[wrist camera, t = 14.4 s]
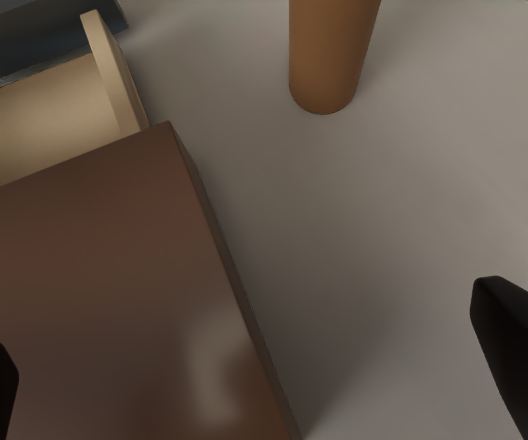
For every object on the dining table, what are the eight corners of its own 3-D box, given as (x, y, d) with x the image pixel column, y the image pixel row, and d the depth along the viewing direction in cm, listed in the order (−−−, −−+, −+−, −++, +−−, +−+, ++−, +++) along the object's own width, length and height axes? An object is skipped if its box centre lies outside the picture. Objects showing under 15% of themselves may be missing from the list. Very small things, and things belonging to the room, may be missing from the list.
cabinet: (-26, 254, 23) (-123, 232, 18) (196, 166, 24) (168, 118, 18) (51, 548, 20) (-37, 631, 15) (303, 442, 21) (308, 484, 15)
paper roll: (369, 78, 24) (417, -64, 15) (327, 127, 24) (351, 9, 15) (317, 41, 25) (333, -117, 16) (275, 88, 24) (267, -47, 15)
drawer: (-87, 14, 25) (-151, -39, 22) (97, -55, 26) (65, -119, 22) (-8, 313, 22) (-70, 311, 18) (205, 227, 22) (188, 208, 18)
